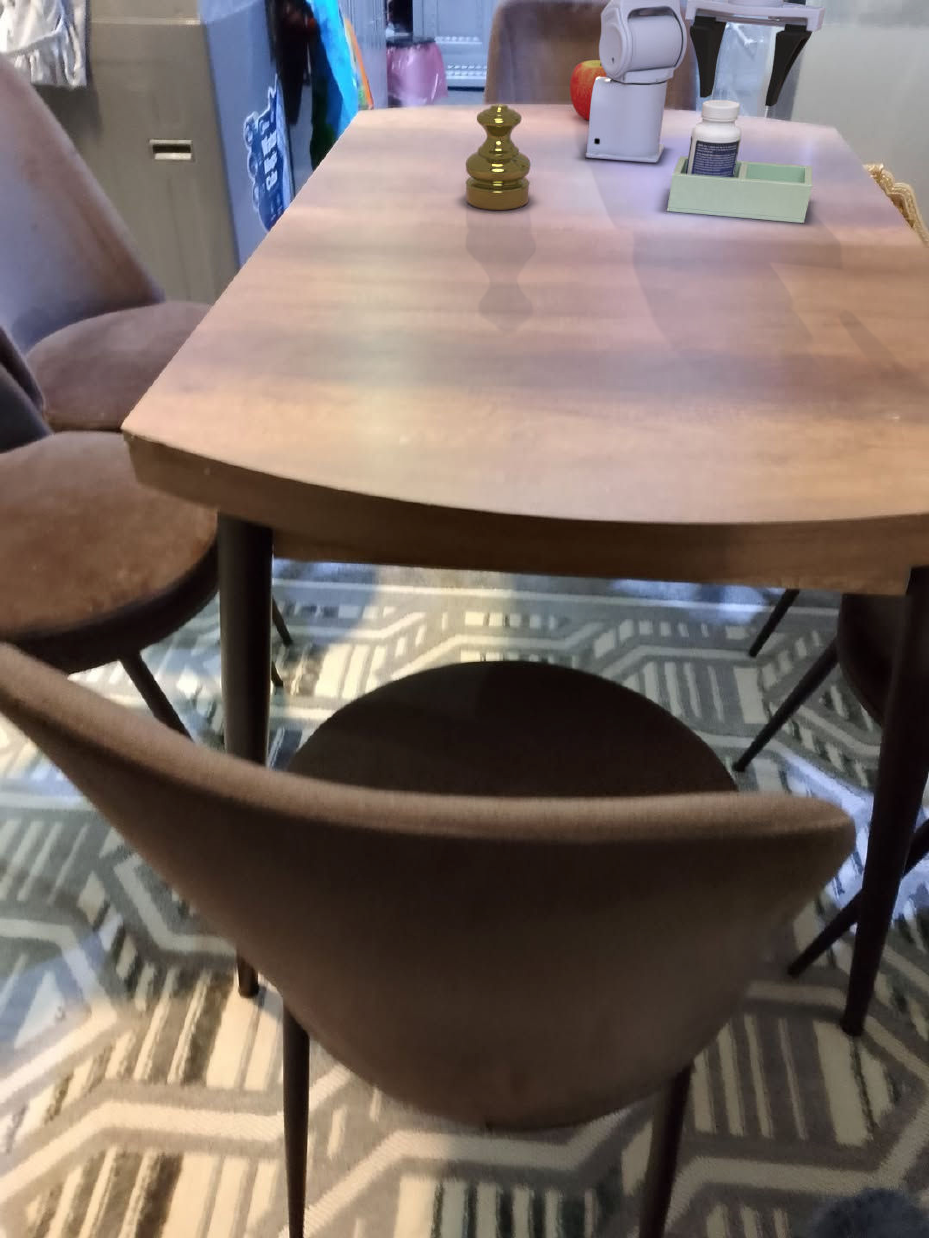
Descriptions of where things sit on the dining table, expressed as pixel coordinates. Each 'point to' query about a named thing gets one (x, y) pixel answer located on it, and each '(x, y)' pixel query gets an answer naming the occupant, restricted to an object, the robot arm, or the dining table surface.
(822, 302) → the dining table surface
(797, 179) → the holder
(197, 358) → the dining table surface
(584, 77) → the apple
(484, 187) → the salt shaker
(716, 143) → the pill bottle
